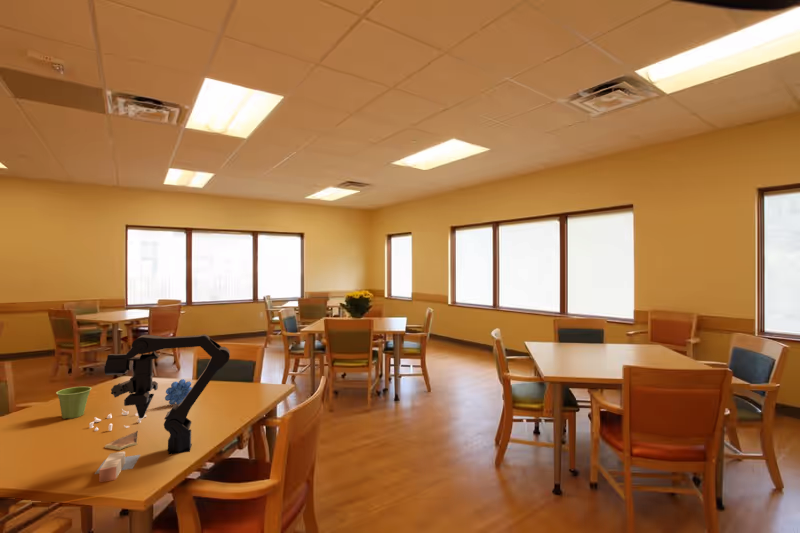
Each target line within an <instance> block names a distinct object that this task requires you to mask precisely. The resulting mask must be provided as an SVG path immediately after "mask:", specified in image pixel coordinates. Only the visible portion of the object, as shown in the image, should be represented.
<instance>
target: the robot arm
mask: <svg viewBox="0 0 800 533" xmlns="http://www.w3.org/2000/svg"><path fill="white" fill-rule="evenodd" d="M197 347H200V348H201V349H203V350H204V352H205V353H206V354H207V355H209V357H210V359H209V361H208V363H207V366H206V368H205V369H204V371H203V372H202V373H201V375H200V376H199V377H198V379H197V380H196V381H195V383H194V384H193V386H191V387H192V388H191V390H190V391H189V393H188V394H187V395H186V397H185V398H184V400H183V401H182V402H181V403H180V404H179V405H177V404H176V403H174V404H173V405H172V407H171V409H170V410H169V411H167V413H166V415H165V417H164V422H163V427H164V430H165V431H167V432H168V433H169V437H168V440H167V452H168V455H176V454H183V453H189V452H190V451H191V449H192V444H193V443H192V429H190V428H191V425H192V422H193V421H191V420H190V419H189V418H188V417H187V416H188V414H189V413H190V410H191V408H192V407H193V406H194V404H195V403H196V401H197V400H198V399H199V397H200V396H201V394H202V393H203V391H204V390H205V389H206V387H207V386H208V385H209V383H210V381H211V380H212V379H213V377H214V376H215V375H216V373H217V372H219V371H221V369H222V368H223V367H224V366H226V364H227V363H228V362H229V361H230V356H231V351H230V349H229V348H228V347H226V346H221V345H220V344H219V343H218V342H217V341H215V340H213V339H212V338H211V337H210V336H209V335H208V334H206V333H205V334H199V335H182V336H160V335H152V334H142V335H140V336H139V337H137V338H135V339H134V340H133V341H132V343H131V348H130V349H129V350H128V351H127V352H126V353H110V354H107V356H106V357H107V359H106V361H105V365H104V366H103V367H104V368H103V369H104V374H105V376H110V375H124V374H127V373H128V371H131V370H132V376H131V377H130V378H129V380H126V381H124V382H120V383H118V384H114V385H113V387H111V389H110V390H111V392H110V394H111V395H113V397H114V398H118V397H119V396H122V395H124V394H126V393H128V394H129V395H128V396H126V397H125V398H124V400H123V401H124V402H123V406H125V407H128V406H135V409H136V413H137V412H138V415H139V416H138V417H139V418H143V417H144V415H146V413H147V411H148V408H149V407H150V404H151V402H152V400H153V398H154V395H155V393H150V392H151V391H152V390H153V391H157V390H158V386H159V384H158V382H156V381H155V380H154V381H153V377H154V376H155V373H154V372H153V369H154V368H153V366H154V365H153V364H154V361H153V360H158V359H159V358H160V357H161V356H160V354H158V351H161V350H165V349H179V348H197ZM137 355H140V356H137ZM143 419H144V418H143Z"/></svg>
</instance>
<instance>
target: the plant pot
mask: <svg viewBox="0 0 800 533" xmlns="http://www.w3.org/2000/svg"><path fill="white" fill-rule="evenodd" d="M92 389H93V388H92V387H91V386H74V387H68V388H63V389H61V390H58V391H56V392H55V394H56V395H57V397H58V401H59V405H60V406H59V407H60V411H61V412H60V413H61V418H62V419H65V420H66V419H76V418H79V417H81V416H83V415H85V410H86V406H87V402H88V398H89V395H90V392H91V390H92Z"/></svg>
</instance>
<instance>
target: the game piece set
mask: <svg viewBox="0 0 800 533" xmlns="http://www.w3.org/2000/svg"><path fill="white" fill-rule="evenodd" d="M121 410H122V412H121V415H123V416H127V415H129V414H130V413H129V409H128V410H127V411H126V410H124V409H123V408H121ZM134 416H135V417H138V418H137V420H136V422H137V423H139V424H140V423H142V420H143V419H144V418H147V416H148V415H147V414H145V415H144V417H143V418H139V415H138V412H137V411H136V413H134ZM93 418H94V420H93V421H92V422H89V424H88V425H89V427H88V429H92V428H93V429H94V432H98V431H99V428H98V426H96V427H95V426H94V423H99V422H101V421H102V419H101V418H98V417H96V416H95V417H93ZM112 418H113V416H112V413H110V414H107V417H106V419H112ZM94 427H95V428H94ZM123 427H124V428H125V429H127V428H130V425H123ZM112 430H113V423H109V424H108V432H111V431H112Z"/></svg>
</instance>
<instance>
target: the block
mask: <svg viewBox="0 0 800 533" xmlns="http://www.w3.org/2000/svg"><path fill="white" fill-rule="evenodd" d="M125 457H126V451H118V452H110V453H109V455H108V456H107V458H106V459H105V460H106V461H105V462H104V461H103V462H104V464H103V465H102V464H101V465H102V467H101V469H100V470H99V476H98V477H99V478H98V480H99V481H98V482H99V483H102V482H108V481H116V480H117V478H118V477H119V474H121V471H123V470H122V468H123V466H124V464H125Z"/></svg>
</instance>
